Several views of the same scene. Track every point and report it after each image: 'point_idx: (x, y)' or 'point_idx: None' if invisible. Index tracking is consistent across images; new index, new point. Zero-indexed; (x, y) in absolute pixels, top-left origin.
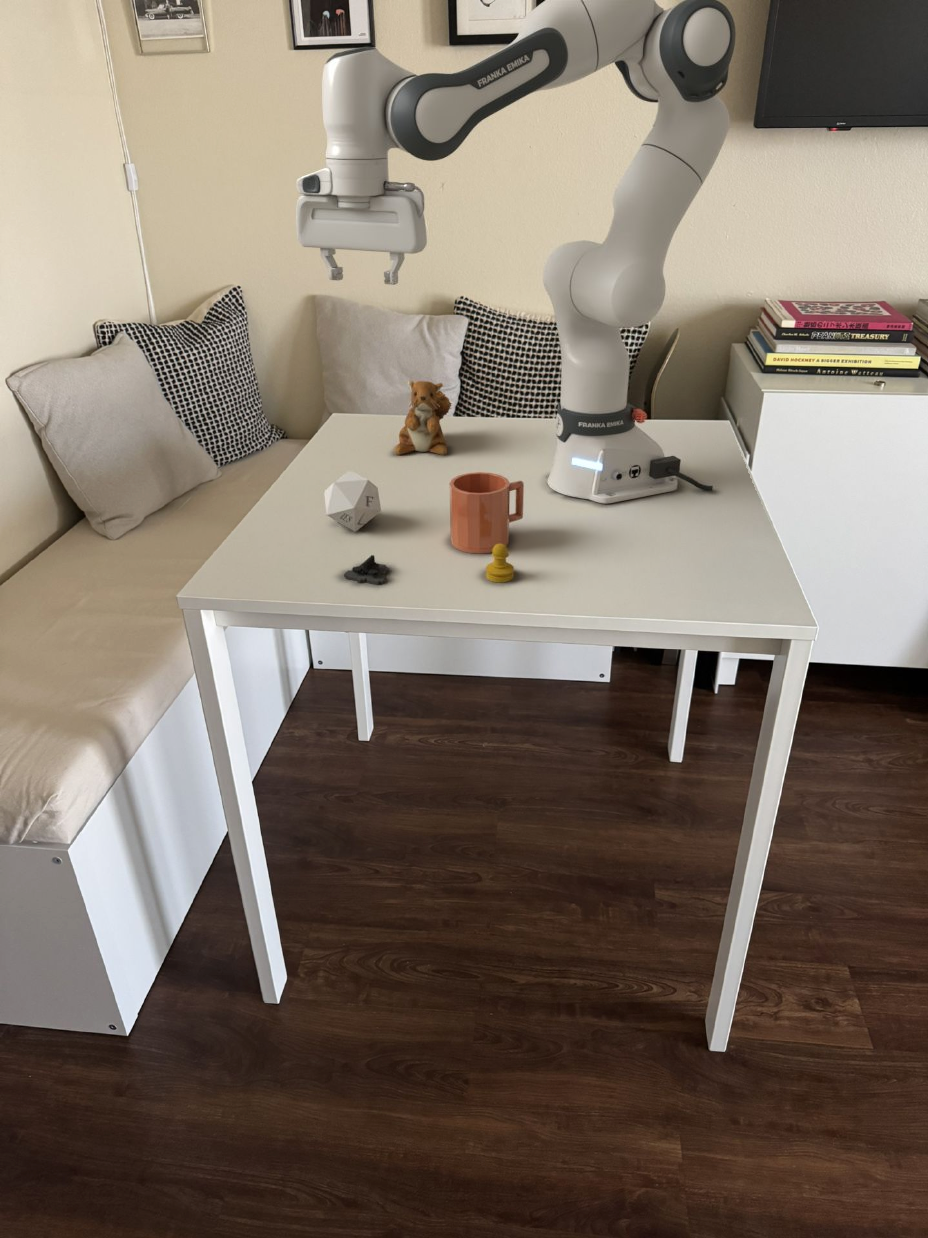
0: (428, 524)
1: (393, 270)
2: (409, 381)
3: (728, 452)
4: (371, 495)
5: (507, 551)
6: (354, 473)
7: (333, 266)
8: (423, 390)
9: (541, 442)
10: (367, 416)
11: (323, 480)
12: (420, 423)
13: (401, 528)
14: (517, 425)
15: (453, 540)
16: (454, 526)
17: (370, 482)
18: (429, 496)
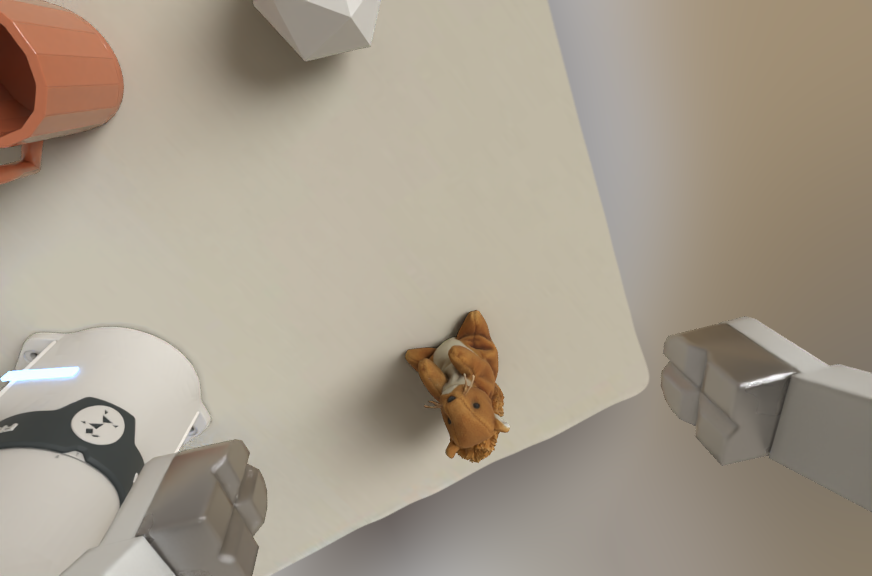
0: (204, 83)
1: (69, 567)
2: (505, 428)
3: None
4: None
5: None
6: (324, 4)
7: (795, 409)
8: (458, 414)
9: (314, 463)
10: (612, 403)
11: (517, 150)
12: (454, 369)
13: (231, 34)
14: (390, 490)
15: (65, 10)
16: (36, 2)
17: (272, 1)
18: (303, 197)
